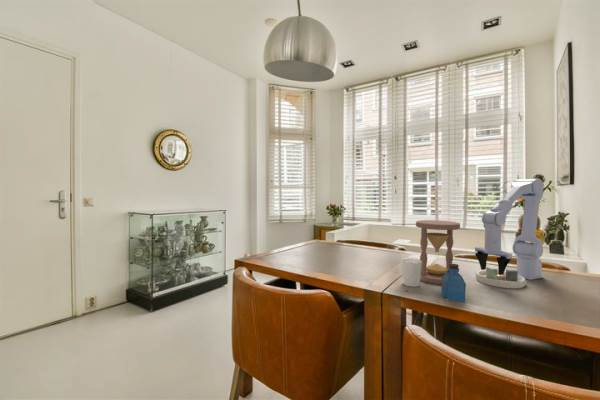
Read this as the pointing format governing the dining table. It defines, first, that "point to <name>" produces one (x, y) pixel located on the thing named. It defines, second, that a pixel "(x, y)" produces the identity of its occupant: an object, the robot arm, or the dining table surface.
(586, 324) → the dining table surface
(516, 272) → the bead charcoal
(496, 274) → the pale green rounded block
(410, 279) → the white cup
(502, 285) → the groove tray
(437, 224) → the hourglass
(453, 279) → the perfume bottle
